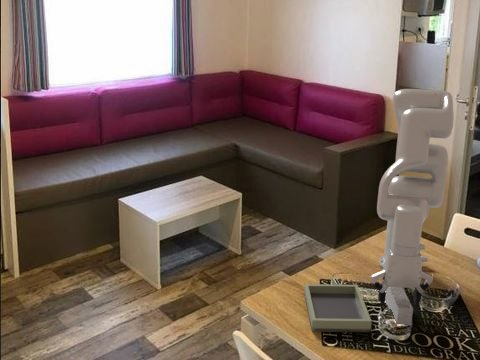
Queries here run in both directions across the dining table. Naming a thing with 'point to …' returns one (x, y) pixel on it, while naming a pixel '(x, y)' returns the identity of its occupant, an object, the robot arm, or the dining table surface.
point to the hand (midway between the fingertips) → (398, 303)
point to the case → (336, 308)
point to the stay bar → (399, 305)
